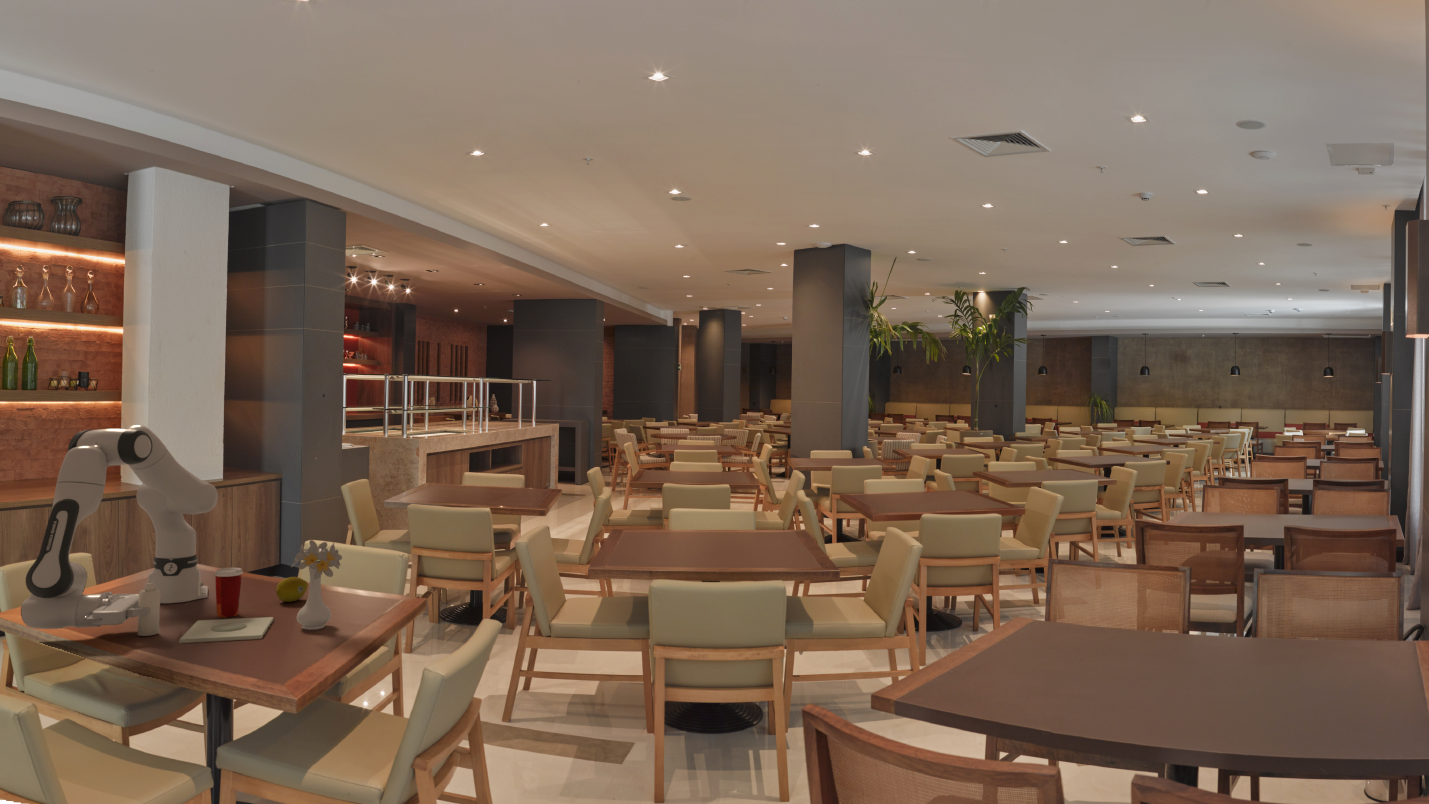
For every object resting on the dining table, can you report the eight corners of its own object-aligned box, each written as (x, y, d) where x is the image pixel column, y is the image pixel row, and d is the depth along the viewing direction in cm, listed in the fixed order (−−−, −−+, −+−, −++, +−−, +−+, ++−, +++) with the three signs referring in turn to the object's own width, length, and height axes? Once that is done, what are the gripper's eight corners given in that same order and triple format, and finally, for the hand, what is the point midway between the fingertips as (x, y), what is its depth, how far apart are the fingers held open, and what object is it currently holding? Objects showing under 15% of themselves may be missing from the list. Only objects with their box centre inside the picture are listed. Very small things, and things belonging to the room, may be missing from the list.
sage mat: (197, 623, 251) (197, 619, 251) (273, 620, 258) (273, 616, 258) (179, 643, 232) (179, 638, 232) (261, 638, 239) (261, 634, 239)
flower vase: (306, 638, 241) (309, 549, 241) (280, 625, 253) (283, 540, 253) (352, 630, 250) (354, 545, 250) (325, 617, 263) (327, 536, 263)
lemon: (281, 606, 275) (282, 581, 274) (269, 602, 279) (270, 577, 279) (314, 600, 283) (314, 576, 283) (301, 596, 288) (302, 572, 288)
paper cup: (247, 612, 265) (248, 567, 265) (230, 619, 258) (232, 572, 258) (223, 611, 266) (225, 566, 266) (206, 617, 258) (208, 571, 258)
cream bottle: (140, 631, 240) (142, 581, 240) (161, 630, 242) (162, 581, 242) (135, 636, 236) (136, 585, 236) (156, 635, 237) (157, 585, 237)
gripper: (80, 608, 225) (141, 606, 229) (107, 590, 244) (163, 588, 249) (80, 632, 225) (141, 629, 229) (107, 612, 244) (162, 610, 249)
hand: (152, 608), depth 239 cm, fingers closed on cream bottle, 5 cm apart
